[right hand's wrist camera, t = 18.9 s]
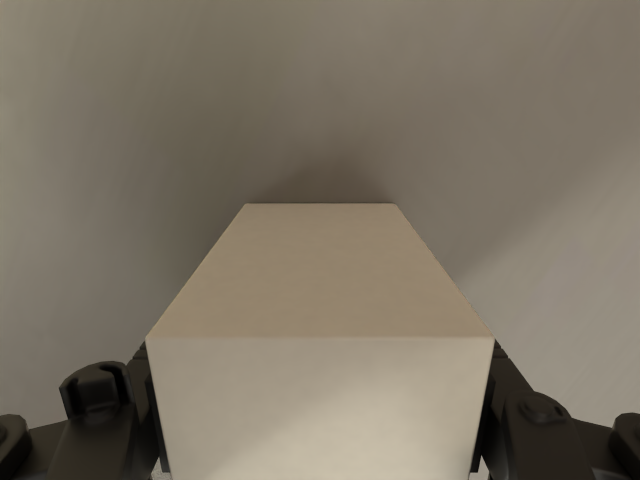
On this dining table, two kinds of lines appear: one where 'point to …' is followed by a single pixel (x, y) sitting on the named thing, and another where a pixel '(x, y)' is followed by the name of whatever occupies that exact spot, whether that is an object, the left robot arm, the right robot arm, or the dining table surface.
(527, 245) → the dining table surface
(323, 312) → the block
